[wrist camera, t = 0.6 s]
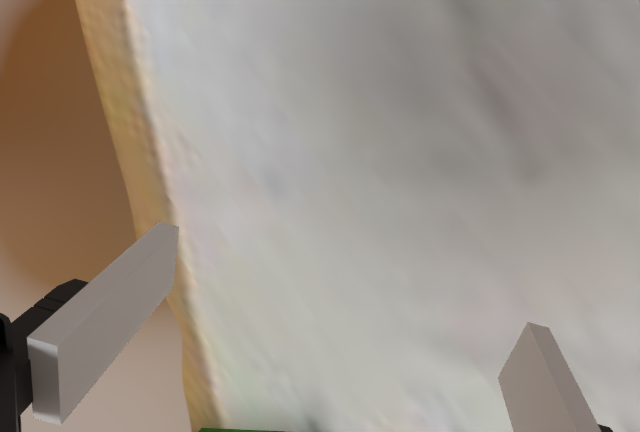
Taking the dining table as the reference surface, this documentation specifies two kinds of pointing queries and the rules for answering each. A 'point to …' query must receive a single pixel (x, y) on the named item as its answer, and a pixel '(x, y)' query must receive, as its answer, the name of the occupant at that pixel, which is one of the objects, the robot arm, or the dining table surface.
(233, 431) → the hardback book
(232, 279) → the dining table surface
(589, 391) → the dining table surface
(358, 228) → the dining table surface
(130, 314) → the robot arm
